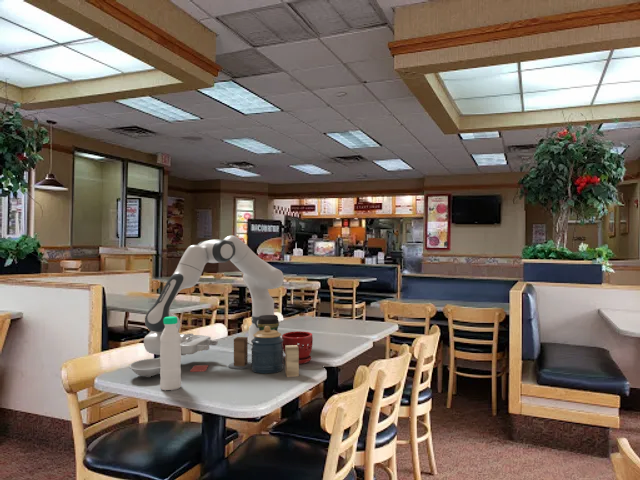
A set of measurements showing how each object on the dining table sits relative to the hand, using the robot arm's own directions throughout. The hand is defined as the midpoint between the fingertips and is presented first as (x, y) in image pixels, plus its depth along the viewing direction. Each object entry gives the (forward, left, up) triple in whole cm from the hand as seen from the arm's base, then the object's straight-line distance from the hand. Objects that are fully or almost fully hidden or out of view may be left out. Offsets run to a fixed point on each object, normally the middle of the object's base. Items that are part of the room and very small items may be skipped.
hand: (213, 345), depth 201 cm
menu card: (+6, -4, -9) cm, 11 cm away
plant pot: (-10, +34, -9) cm, 36 cm away
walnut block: (0, +12, -8) cm, 14 cm away
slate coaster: (0, +12, -8) cm, 15 cm away
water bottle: (+33, -3, -9) cm, 34 cm away
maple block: (+11, +36, -8) cm, 39 cm away
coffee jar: (-19, +19, -9) cm, 28 cm away
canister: (+4, +25, -9) cm, 26 cm away
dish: (+20, -18, -9) cm, 28 cm away
